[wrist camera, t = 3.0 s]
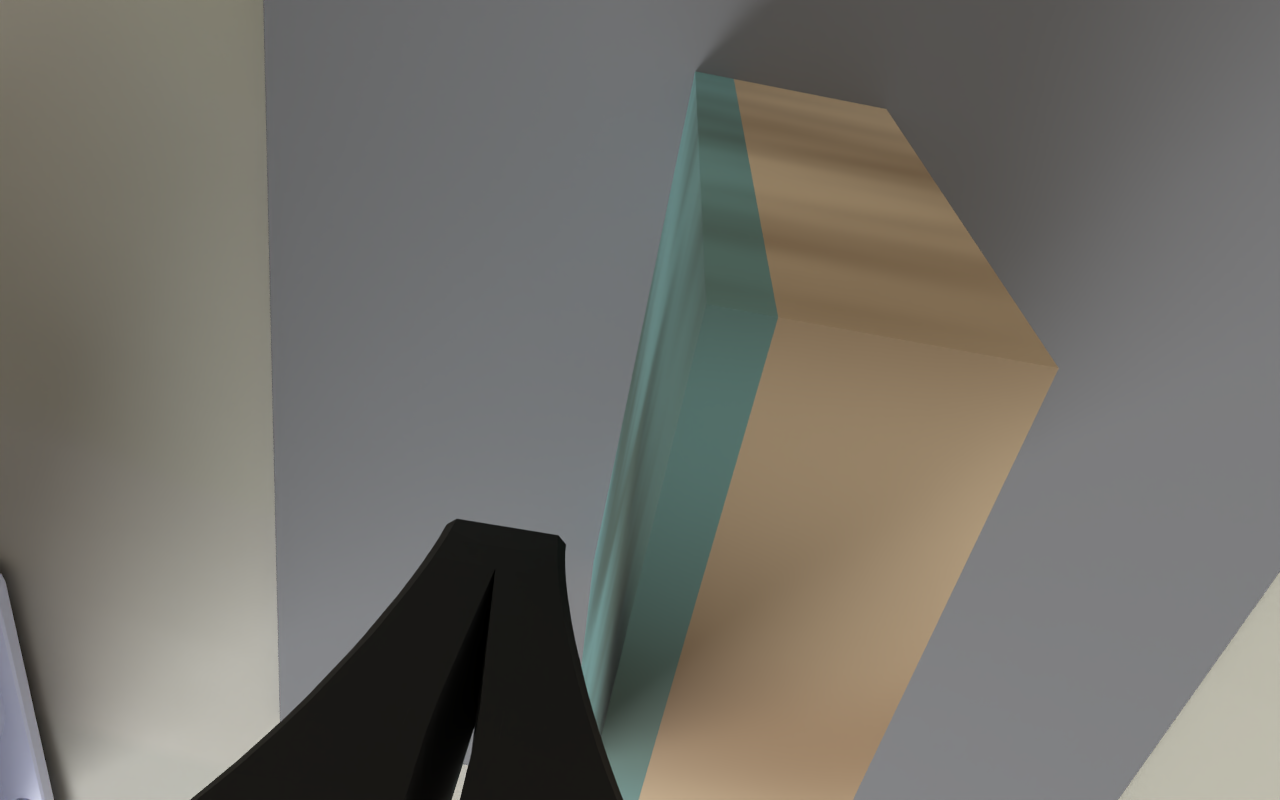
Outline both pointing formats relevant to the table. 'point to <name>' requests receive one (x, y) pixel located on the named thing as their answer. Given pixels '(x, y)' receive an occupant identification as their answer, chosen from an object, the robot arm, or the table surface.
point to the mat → (620, 284)
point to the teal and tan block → (796, 452)
